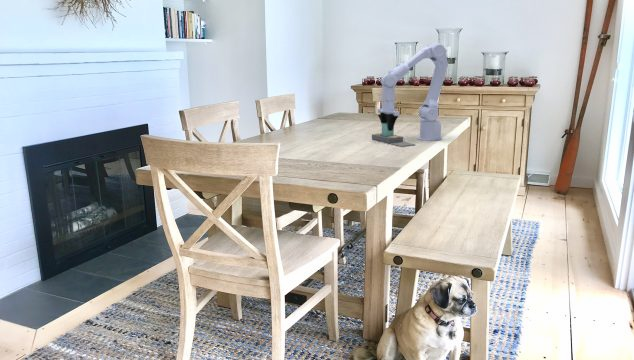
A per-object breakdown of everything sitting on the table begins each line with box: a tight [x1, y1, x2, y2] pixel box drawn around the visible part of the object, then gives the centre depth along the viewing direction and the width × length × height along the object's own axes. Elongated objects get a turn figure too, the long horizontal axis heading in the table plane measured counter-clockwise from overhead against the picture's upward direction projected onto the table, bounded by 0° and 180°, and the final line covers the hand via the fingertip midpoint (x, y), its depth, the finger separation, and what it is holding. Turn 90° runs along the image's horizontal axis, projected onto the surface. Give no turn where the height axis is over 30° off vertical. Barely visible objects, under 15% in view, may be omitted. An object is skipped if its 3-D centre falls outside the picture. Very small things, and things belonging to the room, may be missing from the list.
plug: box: [381, 122, 395, 137], centre depth 245 cm, size 4×4×7 cm
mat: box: [389, 141, 416, 148], centre depth 236 cm, size 8×8×1 cm
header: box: [371, 132, 404, 145], centre depth 246 cm, size 8×14×3 cm, turn 28°
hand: (387, 129), depth 245 cm, fingers closed on plug, 4 cm apart
